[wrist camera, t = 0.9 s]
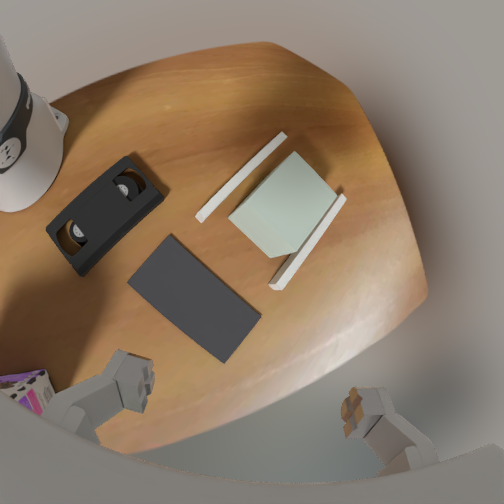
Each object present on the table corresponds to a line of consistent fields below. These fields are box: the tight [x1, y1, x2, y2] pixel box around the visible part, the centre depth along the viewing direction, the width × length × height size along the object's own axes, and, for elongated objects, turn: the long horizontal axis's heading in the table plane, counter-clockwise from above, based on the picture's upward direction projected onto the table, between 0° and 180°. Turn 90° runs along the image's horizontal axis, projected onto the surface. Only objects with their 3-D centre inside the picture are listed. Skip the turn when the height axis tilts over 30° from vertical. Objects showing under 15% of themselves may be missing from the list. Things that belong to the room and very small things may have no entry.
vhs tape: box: [46, 156, 164, 277], centre depth 31 cm, size 14×8×2 cm, turn 135°
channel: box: [127, 132, 347, 363], centre depth 37 cm, size 16×30×2 cm, turn 139°
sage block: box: [228, 151, 337, 258], centre depth 36 cm, size 8×10×8 cm
